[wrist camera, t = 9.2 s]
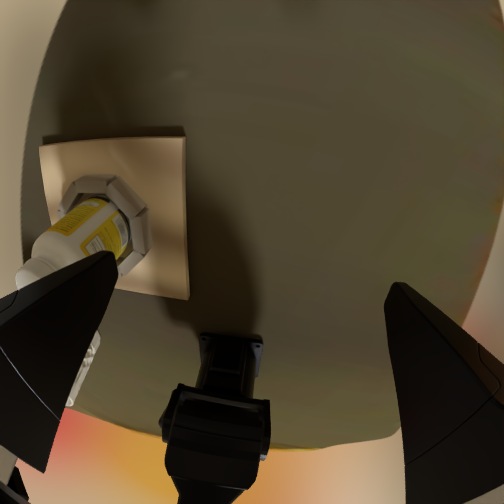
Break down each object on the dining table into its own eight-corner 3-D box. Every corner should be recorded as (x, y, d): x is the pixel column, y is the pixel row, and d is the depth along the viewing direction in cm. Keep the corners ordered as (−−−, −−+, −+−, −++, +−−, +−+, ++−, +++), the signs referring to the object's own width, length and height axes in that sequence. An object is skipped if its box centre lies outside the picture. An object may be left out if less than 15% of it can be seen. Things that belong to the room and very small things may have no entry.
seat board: (190, 294, 26) (183, 311, 24) (70, 273, 26) (59, 286, 24) (185, 136, 18) (174, 142, 16) (44, 144, 19) (27, 151, 17)
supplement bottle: (74, 223, 22) (4, 288, 13) (98, 179, 20) (12, 240, 11) (116, 261, 24) (59, 340, 15) (146, 223, 21) (79, 305, 13)
